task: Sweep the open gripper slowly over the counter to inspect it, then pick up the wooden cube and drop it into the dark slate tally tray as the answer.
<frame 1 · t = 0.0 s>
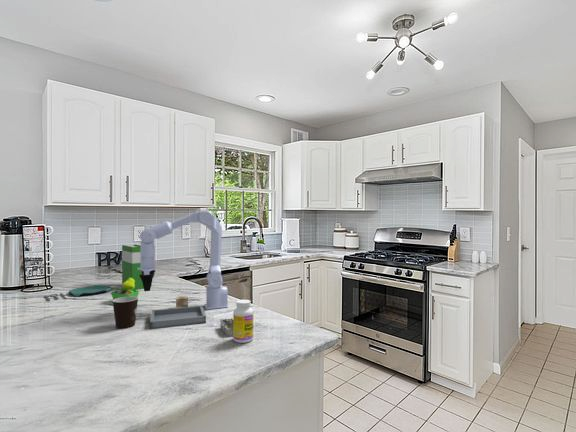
hand: (147, 289, 140), 10 cm above the counter, tool pointing down, fingers open, 7 cm apart
grey lumpy block: (232, 331, 118), on the counter
tally tray: (178, 319, 131), on the counter
coffee mug: (128, 325, 124), on the counter
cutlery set: (79, 295, 174), on the counter
wooden cube: (182, 308, 146), on the counter
green cereal box: (133, 287, 191), on the counter
fruit basket: (126, 302, 158), on the counter
supplement bottle: (243, 340, 109), on the counter
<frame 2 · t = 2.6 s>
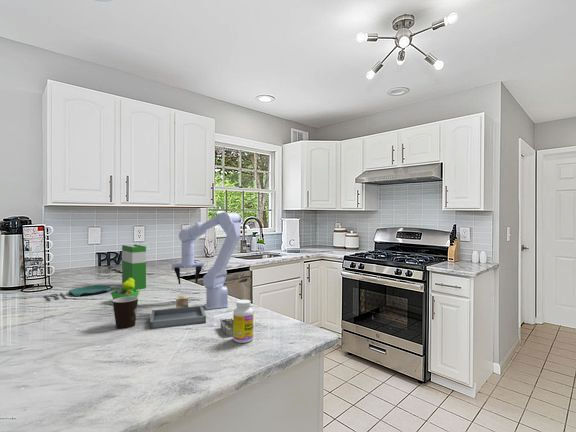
hand: (187, 283, 156), 9 cm above the counter, tool pointing down, fingers open, 7 cm apart
nothing on the counter moved.
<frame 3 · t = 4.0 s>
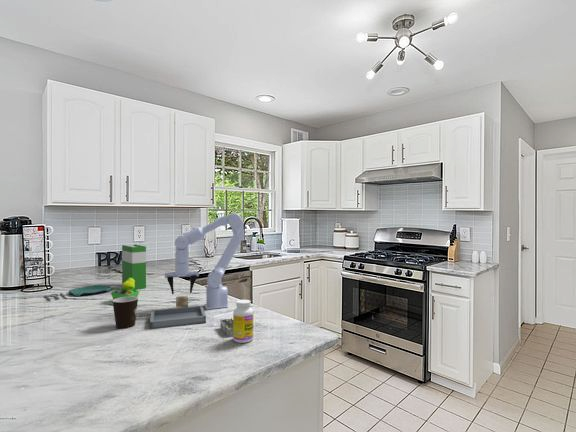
hand: (181, 293, 146), 7 cm above the counter, tool pointing down, fingers open, 7 cm apart
nothing on the counter moved.
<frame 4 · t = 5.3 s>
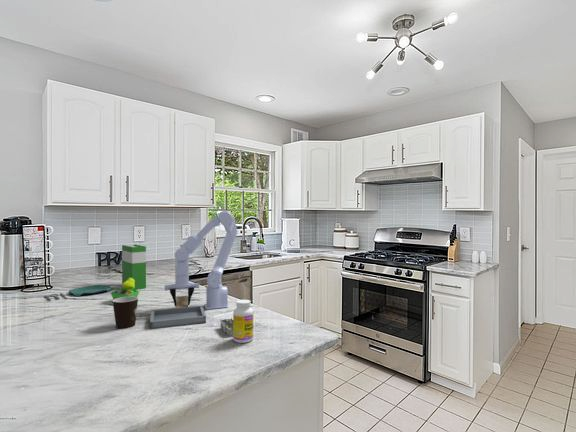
hand: (182, 305, 146), 1 cm above the counter, tool pointing down, fingers closed on wooden cube, 5 cm apart
wooden cube: (182, 308, 146), on the counter, touching gripper
everything else where it was.
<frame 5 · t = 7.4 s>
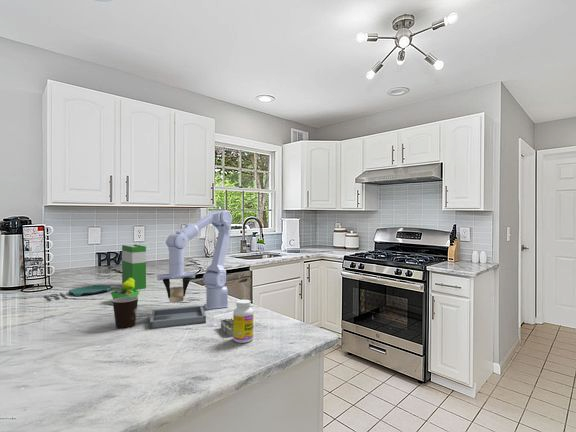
hand: (176, 296, 133), 8 cm above the counter, tool pointing down, fingers closed on wooden cube, 5 cm apart
wooden cube: (176, 300, 133), point 7 cm above the counter, touching gripper
everything else where it was.
when the fingers open (4 cm above the counter, at t = 9.4 s): wooden cube drops 2 cm, resting on tally tray.
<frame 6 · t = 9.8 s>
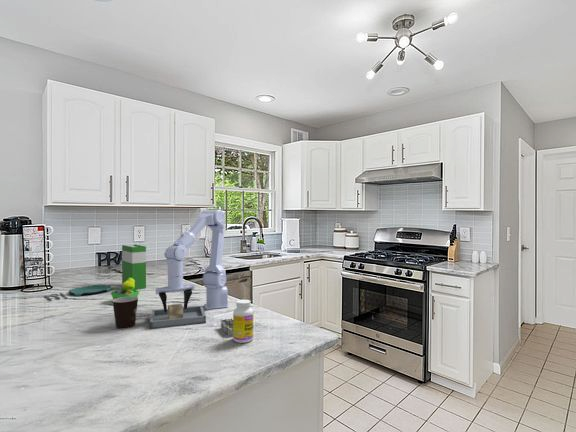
hand: (175, 309, 130), 4 cm above the counter, tool pointing down, fingers open, 7 cm apart
wooden cube: (175, 318, 130), resting on tally tray
everything else where it was.
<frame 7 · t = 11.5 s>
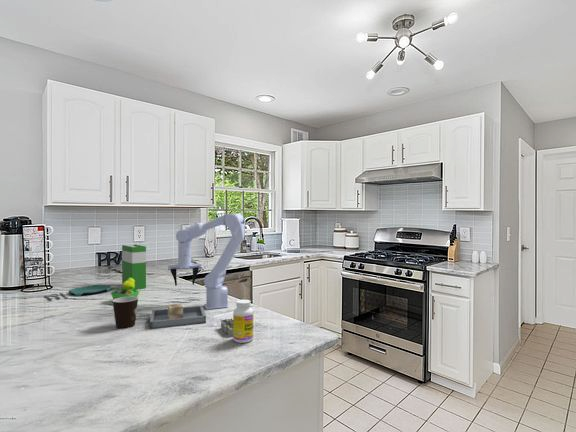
hand: (184, 284, 152), 9 cm above the counter, tool pointing down, fingers open, 7 cm apart
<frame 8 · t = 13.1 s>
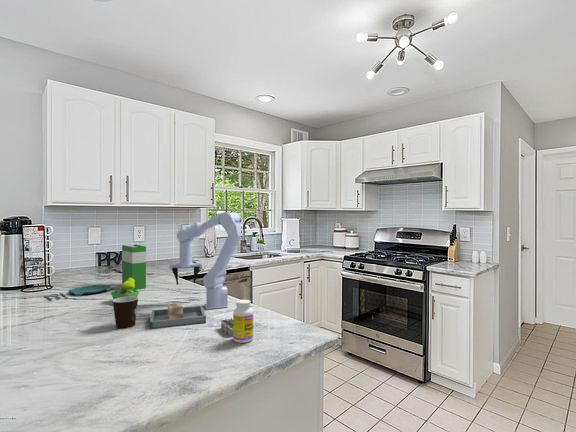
hand: (185, 283, 154), 9 cm above the counter, tool pointing down, fingers open, 7 cm apart
at the end: wooden cube inside the target area on the tally tray (1.0 cm from its centre), point 0.5 cm above the tally tray's base; wooden cube tilted 0°; the gripper is holding nothing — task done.
